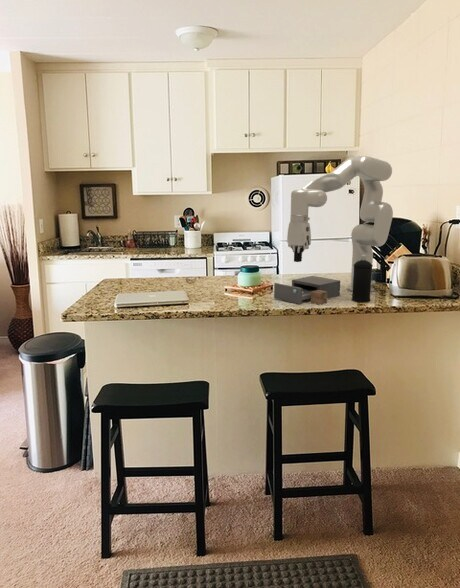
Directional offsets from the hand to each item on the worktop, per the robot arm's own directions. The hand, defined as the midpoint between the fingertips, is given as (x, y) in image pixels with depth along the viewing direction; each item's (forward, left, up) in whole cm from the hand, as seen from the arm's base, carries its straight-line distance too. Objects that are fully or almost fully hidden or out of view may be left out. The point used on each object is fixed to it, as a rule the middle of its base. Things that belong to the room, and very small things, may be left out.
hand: (297, 261), depth 226 cm
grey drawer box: (-13, 0, -17) cm, 22 cm away
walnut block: (-2, +11, -17) cm, 20 cm away
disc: (0, 0, -15) cm, 15 cm away
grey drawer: (-1, 0, -17) cm, 17 cm away
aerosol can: (-20, +20, -17) cm, 33 cm away
